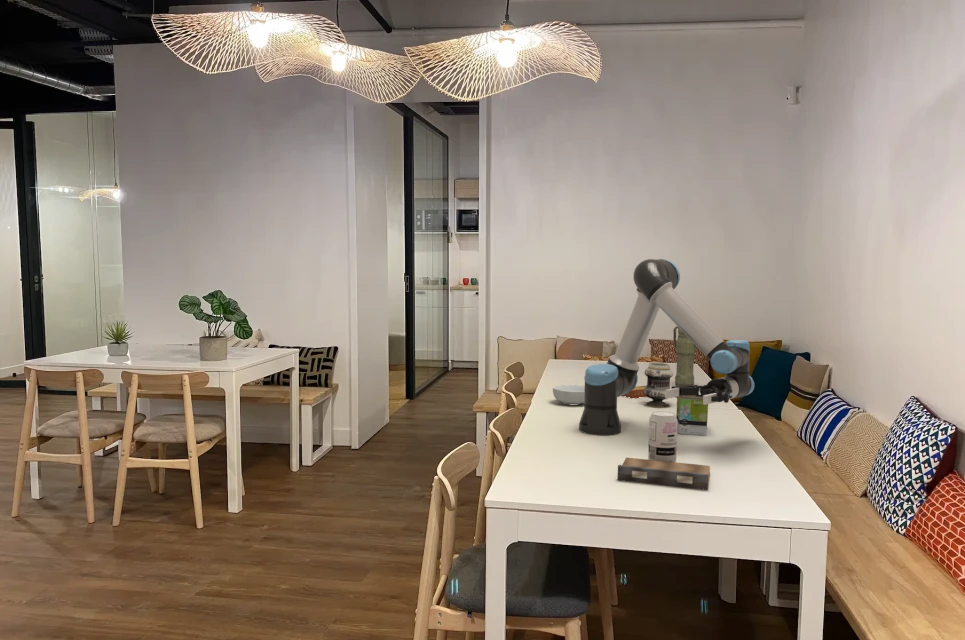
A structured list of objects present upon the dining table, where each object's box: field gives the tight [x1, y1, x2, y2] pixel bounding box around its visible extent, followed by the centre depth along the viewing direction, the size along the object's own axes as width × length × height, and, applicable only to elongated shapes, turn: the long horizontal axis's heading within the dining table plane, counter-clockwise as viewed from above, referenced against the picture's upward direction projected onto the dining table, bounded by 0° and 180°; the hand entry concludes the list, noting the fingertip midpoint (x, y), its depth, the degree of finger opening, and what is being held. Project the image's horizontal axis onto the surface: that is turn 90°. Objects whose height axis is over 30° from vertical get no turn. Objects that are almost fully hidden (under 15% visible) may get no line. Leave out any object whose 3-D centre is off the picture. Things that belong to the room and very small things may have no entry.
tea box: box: [675, 391, 709, 436], centre depth 257 cm, size 15×10×15 cm
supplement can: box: [647, 410, 678, 462], centre depth 215 cm, size 8×8×15 cm
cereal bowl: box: [552, 383, 585, 405], centre depth 304 cm, size 17×17×7 cm
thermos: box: [673, 325, 699, 386], centre depth 343 cm, size 9×12×35 cm
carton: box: [622, 384, 648, 399], centre depth 324 cm, size 8×16×4 cm, turn 121°
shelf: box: [617, 457, 711, 491], centre depth 201 cm, size 24×17×4 cm
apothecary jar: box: [644, 362, 674, 409], centre depth 302 cm, size 12×12×18 cm
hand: (684, 397), depth 220 cm, fingers open, 13 cm apart
